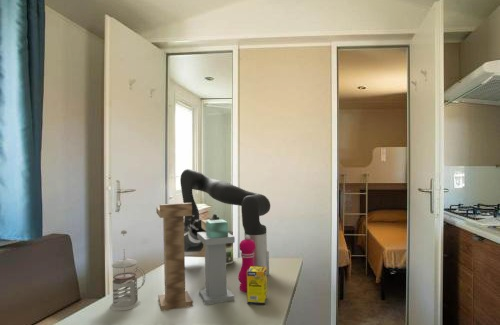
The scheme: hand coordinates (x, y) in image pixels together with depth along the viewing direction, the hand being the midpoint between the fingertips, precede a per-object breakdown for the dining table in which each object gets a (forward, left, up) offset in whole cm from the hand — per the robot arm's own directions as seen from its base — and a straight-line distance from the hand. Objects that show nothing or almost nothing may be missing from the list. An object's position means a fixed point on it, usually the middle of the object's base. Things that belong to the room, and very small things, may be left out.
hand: (204, 217), depth 136 cm
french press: (+29, +10, -26) cm, 40 cm away
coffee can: (-14, -26, -26) cm, 40 cm away
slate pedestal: (0, +16, -26) cm, 30 cm away
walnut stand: (+14, +15, -26) cm, 33 cm away
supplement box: (-12, +25, -26) cm, 38 cm away
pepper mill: (-13, +13, -26) cm, 32 cm away
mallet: (0, +11, -4) cm, 12 cm away
